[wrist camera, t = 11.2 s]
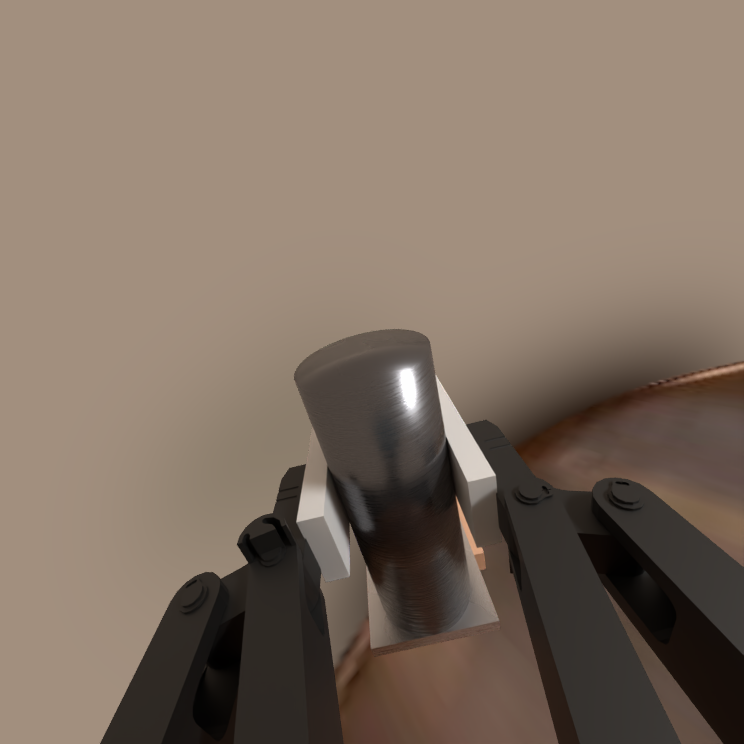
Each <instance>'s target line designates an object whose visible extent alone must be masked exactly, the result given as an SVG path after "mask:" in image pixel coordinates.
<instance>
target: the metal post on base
mask: <svg viewBox="0 0 744 744" xmlns="http://www.w3.org/2000/svg"><path fill="white" fill-rule="evenodd" d="M294 380H295V382H296V385H297V388H298V390H299V393H300V395H301V398H302V400H303V403H304V406H305V408H306V410H307V413H308V416H309V419H310V421H311V424H312V426H313V429H314V431H315V434H316V437H317V439H318V442H319V444H320V447H321V450H322V452H323V455H324V457H325V460H326V462H327V465H328V468H329V470H330V473H331V475H332V478H333V480H334V483H335V486H336V488H337V491H338V493H339V496H340V498H341V501H342V504H343V506H344V509H345V511H346V514H347V516H348V519H349V522H350V524H351V527H352V529H353V532H354V535H355V537H356V539H357V542H358V545H359V547H360V550H361V552H362V555H363V558H364V560H365V563H366V572H367V589H368V607H369V624H370V641H371V650H372V652H373V655H374V657H376V656H380V655H385V654H390V653H394V652H399V651H403V650H408V649H412V648H417V647H422V646H426V645H431V644H435V643H440V642H444V641H449V640H454V639H458V638H463V637H467V636H472V635H477V634H481V633H486V632H490V631H495V630H499V629H500V622H499V619H498V616H497V613H496V611H495V608H494V606H493V603H492V600H491V598H490V595H489V593H488V590H487V588H486V585H485V582H484V580H483V577H482V575H481V572H480V569H479V567H478V564H477V562H476V559H475V557H474V554H473V551H472V549H471V546H470V544H469V541H468V538H467V536H466V533H465V531H464V528H463V526H462V523H461V520H460V517H459V511H458V505H457V499H456V494H455V488H454V482H453V476H452V470H451V464H450V458H449V453H448V447H447V441H446V435H445V429H444V423H443V417H442V411H441V405H440V399H439V393H438V387H437V381H436V375H435V370H434V365H433V358H432V352H431V346H430V341H429V340H428V338H427V337H426V336H424V335H423V334H421V333H419V332H415V331H410V330H401V329H390V330H379V331H373V332H367V333H362V334H358V335H355V336H351V337H348V338H345V339H342V340H339V341H337V342H334V343H332V344H329V345H327V346H325V347H323V348H321V349H320V350H318V351H316V352H314V353H313V354H311V355H310V356H309V357H307V358H306V359H305V360H304V361H303V362H302V363H301V364H300V365H299V366H298V368H297V369H296V371H295V374H294Z"/></svg>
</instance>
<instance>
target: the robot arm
mask: <svg viewBox="0 0 744 744" xmlns="http://www.w3.org/2000/svg"><path fill="white" fill-rule="evenodd" d="M435 375H436V374H435ZM436 381H437V387H438V393H439V399H440V405H441V411H442V417H443V423H444V429H445V435H446V441H447V447H448V453H449V458H450V464H451V470H452V476H453V482H454V488H455V494H456V497H457V499H458V502H459V504H460V507H461V509H462V512H463V514H464V517H465V519H466V522H467V524H468V527H469V529H470V532H471V534H472V536H473V539H474V541H475V544H476V546H477V548H479V547H484V546H488V545H492V544H497V543H501V542H502V538H501V532H502V534H503V536H504V538H505V540H506V542H507V544H508V550H509V563H510V573H513V574H514V577H515V581H516V585H517V589H518V592H519V596H520V600H521V604H522V607H523V611H524V615H525V619H526V623H527V626H528V630H529V634H530V638H531V641H532V645H533V649H534V653H535V656H536V660H537V664H538V668H539V671H540V675H541V679H542V683H543V686H544V690H545V694H546V698H547V701H548V705H549V709H550V713H551V716H552V720H553V724H554V728H555V731H556V735H557V739H558V743H559V744H681V743H680V740H679V738H678V736H677V734H676V732H675V730H674V728H673V726H672V724H671V722H670V720H669V718H668V716H667V714H666V712H665V710H664V708H663V706H662V704H661V702H660V700H659V698H658V696H657V694H656V692H655V690H654V688H653V686H652V684H651V682H650V680H649V678H648V676H647V674H646V672H645V670H644V668H643V666H642V664H641V662H640V659H639V657H638V655H637V653H636V651H635V649H634V647H633V645H632V643H631V641H630V639H629V637H628V635H627V633H626V631H625V629H624V627H623V625H622V623H621V621H620V619H619V617H618V615H617V613H616V611H615V609H614V607H613V605H612V603H611V601H610V599H609V597H608V595H607V593H606V591H605V589H604V587H605V588H606V589H607V591H608V592H609V593H610V595H611V596H612V597H613V598H614V600H615V601H616V602H617V604H618V605H619V606H620V608H621V609H622V610H623V612H624V613H625V614H626V616H627V617H628V618H629V620H630V621H631V622H632V624H633V625H634V626H635V628H636V629H637V630H638V631H639V633H640V634H641V635H642V637H643V638H644V639H645V641H646V642H647V643H648V645H649V646H650V647H651V649H652V650H653V651H654V653H655V654H656V655H657V657H658V658H659V659H660V660H661V662H662V663H663V664H664V666H665V667H666V668H667V670H668V671H669V672H670V674H671V675H672V676H673V678H674V679H675V680H676V682H677V683H678V684H679V686H680V687H681V688H682V690H683V691H684V692H685V693H686V695H687V696H688V697H689V699H690V700H691V701H692V703H693V704H694V705H695V707H696V708H697V709H698V711H699V712H700V713H701V715H702V716H703V717H704V719H705V720H706V721H707V723H708V724H709V725H710V726H711V728H712V729H713V730H714V732H715V733H716V734H717V736H718V737H719V738H720V740H721V741H722V742H723V744H744V567H742V566H741V565H740V564H739V563H738V562H736V561H735V560H734V559H733V558H732V557H730V556H729V555H728V554H727V553H725V552H724V551H723V550H722V549H721V548H719V547H718V546H717V545H716V544H715V543H713V542H712V541H711V540H710V539H709V538H707V537H706V536H705V535H704V534H702V533H701V532H700V531H699V530H698V529H696V528H695V527H694V526H693V525H692V524H690V523H689V522H688V521H687V520H686V519H684V518H683V517H682V516H681V515H679V514H678V513H677V512H676V511H675V510H673V509H672V508H671V507H670V506H669V505H667V504H666V503H665V502H664V501H663V500H661V499H660V498H659V497H658V496H656V495H655V494H654V493H653V492H652V491H650V490H649V489H647V488H646V487H644V486H642V485H641V484H639V483H636V482H633V481H630V480H628V479H621V478H606V479H603V480H601V481H599V482H597V483H596V484H595V486H594V487H593V490H592V492H585V491H566V490H560V489H556V488H553V487H552V485H550V484H549V483H547V482H546V481H544V480H542V479H539V478H536V477H535V476H534V474H533V473H532V472H531V470H530V469H529V468H528V466H527V465H526V464H525V462H524V461H523V460H522V458H521V457H520V456H519V454H518V453H517V452H516V450H515V449H514V448H513V446H511V444H510V442H509V441H508V440H507V439H506V438H505V436H504V434H503V433H502V432H501V430H500V429H499V428H498V427H497V426H496V425H494V424H492V423H491V422H489V421H487V420H484V421H479V422H475V423H471V424H467V425H465V423H464V421H463V420H462V418H461V416H460V415H459V413H458V411H457V410H456V408H455V406H454V405H453V403H452V401H451V400H450V398H449V396H448V394H447V393H446V391H445V389H444V388H443V386H442V384H441V383H440V381H439V380H438V378H437V376H436ZM276 501H277V502H276V504H275V507H274V511H273V513H272V514H267V515H263V516H261V517H259V518H257V519H255V520H254V521H253V522H252V523H250V524H249V525H248V526H247V527H246V528H245V529H244V531H243V532H242V534H241V535H240V537H239V540H238V543H237V545H238V547H239V548H240V550H241V552H242V553H243V555H244V556H245V558H246V560H247V561H248V564H247V565H245V566H243V567H242V568H240V569H238V570H236V571H235V572H233V573H231V574H229V575H227V576H225V577H224V578H222V579H220V578H219V577H218V576H217V575H216V574H215V573H213V572H205V573H202V574H199V575H197V576H195V577H193V578H192V579H191V580H189V581H188V582H186V583H185V584H184V585H183V586H182V587H181V588H180V589H179V591H178V592H177V593H176V595H175V596H174V597H173V599H172V601H171V602H170V604H169V606H168V608H167V610H166V612H165V614H164V616H163V618H162V620H161V622H160V624H159V626H158V628H157V630H156V632H155V634H154V637H153V638H152V641H151V642H150V645H149V646H148V648H147V651H146V652H145V655H144V656H143V659H142V660H141V662H140V665H139V667H138V669H137V671H136V673H135V675H134V677H133V679H132V681H131V683H130V685H129V687H128V689H127V691H126V693H125V695H124V697H123V699H122V701H121V703H120V705H119V707H118V709H117V711H116V713H115V715H114V717H113V719H112V721H111V723H110V725H109V727H108V729H107V731H106V733H105V735H104V737H103V739H102V741H101V743H100V744H344V743H343V736H342V728H341V721H340V713H339V705H338V698H337V690H336V683H335V675H334V667H333V660H332V653H331V645H330V638H329V629H328V622H327V614H326V607H325V599H324V596H323V593H322V591H321V589H320V578H321V573H322V575H323V577H324V579H325V581H326V582H330V581H334V580H339V579H343V578H347V577H350V546H349V545H350V537H349V519H348V516H347V514H346V511H345V509H344V506H343V504H342V501H341V498H340V496H339V493H338V491H337V488H336V486H335V483H334V480H333V478H332V475H331V473H330V470H329V468H328V465H327V462H326V460H325V457H324V455H323V452H322V450H321V447H320V444H319V442H318V439H317V437H316V434H315V431H314V429H313V426H312V432H311V438H310V444H309V450H308V456H307V462H306V464H305V465H301V466H296V467H292V468H289V470H288V471H287V472H286V474H285V475H284V477H283V478H282V480H281V484H280V488H279V493H278V496H277V500H276ZM602 584H603V585H604V587H603V585H602Z"/></svg>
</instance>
